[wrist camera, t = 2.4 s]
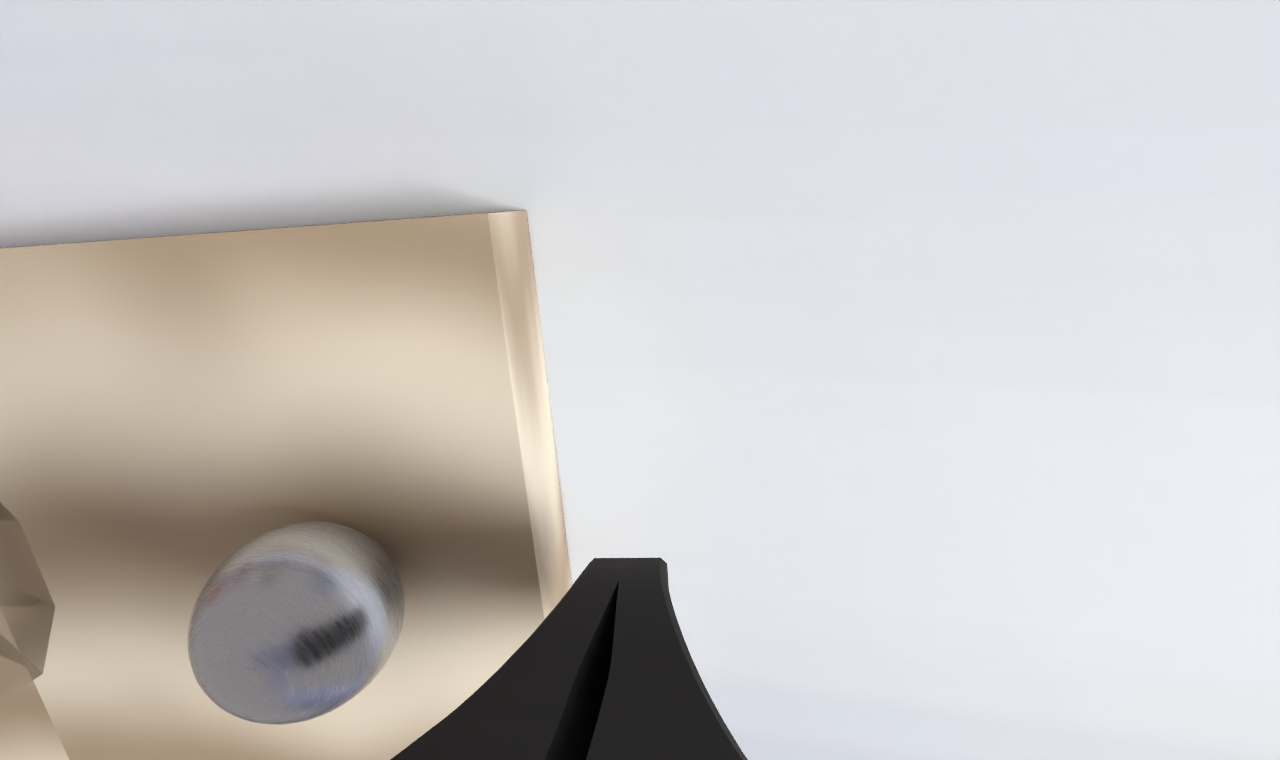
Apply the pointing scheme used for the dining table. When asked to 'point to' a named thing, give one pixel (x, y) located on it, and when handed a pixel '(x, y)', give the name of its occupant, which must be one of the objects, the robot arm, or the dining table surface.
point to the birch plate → (266, 469)
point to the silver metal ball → (296, 622)
